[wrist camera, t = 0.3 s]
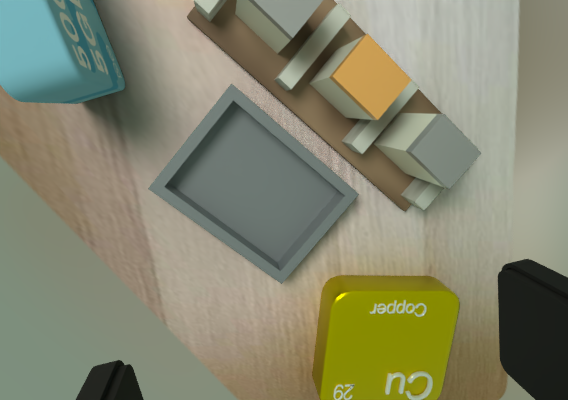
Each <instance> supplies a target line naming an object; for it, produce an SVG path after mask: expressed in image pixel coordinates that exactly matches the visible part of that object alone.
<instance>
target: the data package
mask: <svg viewBox="0 0 568 400" xmlns="http://www.w3.org/2000/svg"><path fill="white" fill-rule="evenodd" d="M0 85H1V86H2V87H3V89H4V90H5V91H6V92H7V93H8V94H9V95H10V96H12V97H13V98H14V99H16V100H18V101H21V102H37V103H69V104H78V103H81V102H84V101H88V100H91V99H95V98H98V97H101V96H105V95H108V94H111V93H115V92H118V91H121V90H123V89H124V88H125V81H124V77H123V74H122V72H121V69H120V67H119V64H118V62H117V59H116V57H115V54H114V52H113V49H112V47H111V44H110V42H109V39H108V37H107V34H106V32H105V29H104V27H103V24H102V22H101V19H100V17H99V14H98V12H97V9H96V7H95V4H94V2H93V0H0Z"/></svg>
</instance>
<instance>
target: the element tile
mask: <svg viewBox="0 0 568 400" xmlns="http://www.w3.org/2000/svg"><path fill="white" fill-rule="evenodd" d="M459 307H460V303H459V298H458V297H457V296H456V294H455V293H454V292H452V291H451V290H450V289H449V288H447V287H446V286H445V285H444V284H442V283H441V282H440V281H439V280H437V279H436V278H434V277H430V276H357V275H341V276H336V277H333V278H331V279H330V280H328V281H327V282H326V284H325V285H324V287H323V290H322V294H321V302H320V311H319V319H318V328H317V337H316V345H315V354H314V362H313V371H312V377H313V380H314V383H315V386H316V389H317V392H318V395H319V398H320V400H437V398H438V397H439V395H440V394H441V392H442V388H443V383H444V378H445V374H446V369H447V364H448V360H449V355H450V350H451V346H452V341H453V336H454V332H455V327H456V322H457V318H458V313H459Z"/></svg>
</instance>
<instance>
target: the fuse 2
mask: <svg viewBox="0 0 568 400" xmlns="http://www.w3.org/2000/svg"><path fill="white" fill-rule="evenodd" d="M373 144H374V145H375V146H377V147H378V148H379V149H380V150H381V151H382V152H383V153H384V154H385V155H386V156H387V157H388V158H389V159H390V160H391V161H393V162H394V163H395V164H396V165H397V166H398V167H399V168H400V169H401V170H402V171H403V172H404V173H405V174H408V175H411V176H414V177H417V178H419V179H422V180H425V181H428V182H430V183H433V184H436V185H439V186H442V187H444V188H447V189H450V188H451V187H452V186H453V185H454V184H455V183H456V181H457V180H458V179H459V178H460V177H461V176H462V175H463V174H464V172H465V171H466V170H467V169H468V168H469V167H470V166H471V165H472V163H473V162H474V161H475V160H476V159H477V158H478V157H479V156H480V154H481V152H480V151H479V150H478V149H477V148H476V147H475V146H474V145H473V144H472V143H471V142H470V141H469V140H468V138H467V137H466V136H465V135H464V134H463V133H462V132H461V131H460V130H459V129H458V128H457V127H456V126H455V125H454V124H453V123H452V122H451V121H450V120H449V119H448V118H447V116H446V115H445V114H423V113H399V114H398V115H397V116H396V117H395V118H394V119H393V121H392V122H391V123H390V124H389V125H388V126H387V128H386V129H385V130H384V131H383V132H382V134H381V135H380V136H379V137H378V138H377V139H376V141H375V142H374V143H373Z"/></svg>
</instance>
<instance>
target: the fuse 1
mask: <svg viewBox="0 0 568 400" xmlns="http://www.w3.org/2000/svg"><path fill="white" fill-rule="evenodd" d="M322 1H323V0H237V3H236V12H235V15H237V16H238V17H239V18H240V19H241V20H242V21H243V22H244V23H245V24H246V25H247V26H248V27H249V28H250V29H252V30H253V31H254V32H255V33H256V34H257V35H258V36H259V37H260V38H261V39H262V40H263V41H264V42H265V43H266V44H268V45H269V46H270V47H271V48H272V49H273V50H274V51H275V52H276V53H277V54H278V53H279V52H280V51H281V50H282V49H283V48H284V47H285V46H286V45H287V44H288V43H289V42H290V41H291V39H292V38H293V37H294V36H295V35H296V34H297V32H298V31H299V30H300V29H301V27H302V26H303V25H304V24H305V22H306V21H307V20H308V19H309V17H310V16H311V15H312V14H313V12H314V11H315V10H316V9H317V7H318V6H319V5H320V4H321V2H322Z"/></svg>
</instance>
